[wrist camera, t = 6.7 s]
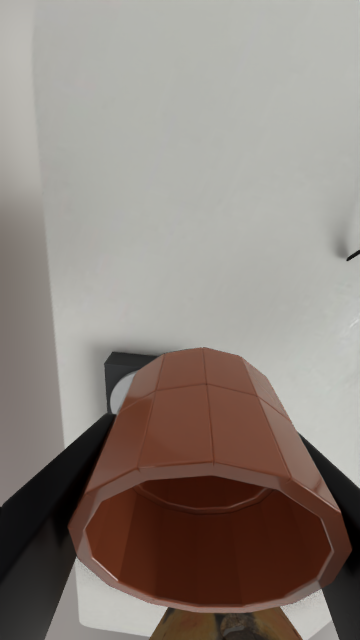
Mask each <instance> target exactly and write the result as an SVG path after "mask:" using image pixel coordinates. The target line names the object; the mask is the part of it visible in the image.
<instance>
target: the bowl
mask: <svg viewBox="0 0 360 640" xmlns="http://www.w3.org/2000/svg"><path fill="white" fill-rule="evenodd" d="M149 640H303V639H302V638H301V636H300V635H299V633H298V632H297V630H296V629H295V628H294V626H293V625H292V623H291V622H290V621H289V619H288V618H287V616H286V615H285V614H284V612H283V611H282V609H281V608H280V606H278V607H273V608H269V609H264V610H259V611H254V612H249V613H248V612H246V613H198V612H191V611H186V610H181V609H176V608H171V607H168V609H167V610H166V612H165V614H164V615H163V617H162V619H161V621H160V622H159V624H158V626H157V627H156V629H155V631H154V632H153V634H152V636H151V637H150V639H149Z"/></svg>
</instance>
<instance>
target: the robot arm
mask: <svg viewBox="0 0 360 640" xmlns="http://www.w3.org/2000/svg"><path fill="white" fill-rule="evenodd" d="M115 415H116V414H112V413H106V414H105V415H103V416H102V417H101V418H100V419H99V420H98V421H97V422H95V423H94V424H93V425H92V426H91V427H90V428H89V429H87V430H86V431H85V432H84V433H83V434H82V435H81V436H80V437H78V438H77V439H76V440H75V441H74V442H73V443H72V444H70V445H69V446H68V447H67V448H66V449H65V450H64V451H63V452H62V453H60V454H59V455H58V456H57V457H56V458H55V459H53V460H52V461H51V462H50V463H49V464H48V465H47V466H45V467H44V468H43V469H42V470H41V471H40V472H39V473H38V474H36V475H35V476H34V477H33V478H32V479H31V480H30V481H28V482H27V483H26V484H25V485H24V486H23V487H22V488H21V489H19V490H18V491H17V492H16V493H15V494H14V495H13V496H12V497H10V498H9V499H8V500H7V501H6V502H5V503H4V504H3V505H2V507H0V640H44V639H45V636H46V634H47V631H48V629H49V626H50V624H51V621H52V619H53V616H54V613H55V611H56V608H57V606H58V603H59V600H60V598H61V595H62V593H63V590H64V587H65V585H66V582H67V580H68V577H69V574H70V572H71V569H72V567H73V564H74V561H75V559H76V552H75V549H74V546H73V543H72V540H71V537H70V534H69V531H68V522H69V520H70V518H71V515H72V513H73V511H74V508H75V506H76V504H77V502H78V499H79V497H80V495H81V493H82V490H83V488H84V486H85V483H86V481H87V479H88V477H89V474H90V472H91V470H92V468H93V465H94V463H95V461H96V458H97V456H98V454H99V452H100V449H101V447H102V445H103V443H104V441H105V438H106V436H107V434H108V431H109V429H110V427H111V424H112V422H113V420H114V418H115ZM297 433H298V432H297ZM298 434H299V433H298ZM299 436H300V438H301V440H302V442H303V443H304V445H305V447H306V449H307V451H308V453H309V454H310V456H311V458H312V460H313V462H314V463H315V465H316V467H317V469H318V471H319V472H320V474H321V476H322V478H323V480H324V482H325V483H326V485H327V487H328V489H329V491H330V492H331V494H332V496H333V498H334V500H335V502H336V503H337V505H338V507H339V509H340V511H341V513H342V517H343V520H344V523H345V526H346V529H347V533H348V536H349V539H350V542H351V545H352V552H351V554H350V556H349V557H348V559H347V561H346V562H345V564H344V566H343V567H342V569H341V570H340V572H339V574H338V575H337V577H336V579H335V580H334V581H333V582H332V583H331V584H329V585H327V586H325V587H323V588H322V591H323V594H324V597H325V600H326V603H327V605H328V608H329V611H330V614H331V617H332V620H333V623H334V625H335V628H336V631H337V634H338V637H339V639H340V640H360V488H359V487H357V486H356V485H355V484H354V483H353V482H352V481H351V480H350V479H349V478H348V477H346V476H345V475H344V474H343V473H342V472H341V471H340V470H339V469H338V468H337V467H336V466H334V465H333V464H332V463H331V462H330V461H329V460H328V459H327V458H326V457H325V456H324V455H322V454H321V453H320V452H319V451H318V450H317V449H316V448H315V447H314V446H313V445H312V444H310V443H309V442H308V441H307V440H306V439H305V438H304V437H303V436H302V435H301V434H299Z"/></svg>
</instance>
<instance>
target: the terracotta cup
mask: <svg viewBox="0 0 360 640" xmlns="http://www.w3.org/2000/svg"><path fill="white" fill-rule="evenodd" d="M68 531H69V534H70V537H71V540H72V543H73V546H74V549H75V552H76V556H77V558H78V559H79V560H80V561H81V562H82V563H83V564H84V565H85V566H86V567H88V568H89V569H90V570H91V571H92V572H93V573H95V574H96V575H97V576H98V577H99V578H100V579H101V580H103V581H104V582H105V583H106V584H107V585H109V586H111V587H113V588H115V589H118V590H120V591H122V592H125V593H127V594H129V595H132V596H134V597H136V598H139V599H141V600H143V601H145V602H148V603H149V602H150V603H151V604H156V605H161V606H166V607H171V608H176V609H181V610H186V611H191V612H198V613H246V612H248V613H249V612H254V611H259V610H264V609H269V608H273V607H278V606H283V605H288V604H293V603H294V602H295V603H296V602H297V601H299V600H301V599H303V598H305V597H307V596H309V595H310V594H312V593H314V592H316V591H318V590H320V589H321V588H323V587H325V586H327V585H329V584H331V583H332V582H333V581H334V580H335V579H336V577H337V575H338V574H339V572H340V570H341V569H342V567H343V566H344V564H345V562H346V561H347V559H348V557H349V556H350V554H351V552H352V545H351V542H350V539H349V536H348V533H347V529H346V526H345V523H344V520H343V517H342V513H341V511H340V509H339V507H338V505H337V503H336V502H335V500H334V498H333V496H332V494H331V492H330V491H329V489H328V487H327V485H326V483H325V482H324V480H323V478H322V476H321V474H320V472H319V471H318V469H317V467H316V465H315V463H314V462H313V460H312V458H311V456H310V454H309V453H308V451H307V449H306V447H305V445H304V443H303V442H302V440H301V438H300V436H299V434H298V433H297V431H296V429H295V427H294V425H293V424H292V422H291V420H290V418H289V416H288V414H287V413H286V411H285V409H284V407H283V405H282V404H281V402H280V400H279V398H278V396H277V394H276V393H275V391H274V389H273V387H272V385H271V384H270V382H269V380H268V379H267V377H266V376H265V375H263V374H262V373H261V372H260V371H258V370H257V369H256V368H255V367H253V366H252V365H251V364H250V363H248V362H247V361H246V360H245V359H243V358H242V357H240V356H238V355H234V354H230V353H226V352H222V351H218V350H214V349H209V348H205V347H203V348H194V349H185V350H180V351H175V352H169V353H166V354H165V353H164V354H162V355H161V356H159V357H158V358H156V359H155V360H153V361H152V362H150V363H149V364H147V365H146V366H144V367H143V368H141V369H140V370H138V371H137V373H136V374H135V375H134V377H133V379H132V381H131V383H130V385H129V387H128V389H127V391H126V393H125V395H124V397H123V399H122V402H121V404H120V406H119V409H118V411H117V413H116V415H115V418H114V420H113V422H112V424H111V427H110V429H109V431H108V434H107V436H106V438H105V441H104V443H103V445H102V447H101V449H100V452H99V454H98V456H97V458H96V461H95V463H94V465H93V468H92V470H91V472H90V474H89V477H88V479H87V481H86V483H85V486H84V488H83V490H82V493H81V495H80V497H79V499H78V502H77V504H76V506H75V508H74V511H73V513H72V515H71V518H70V520H69V522H68Z"/></svg>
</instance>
